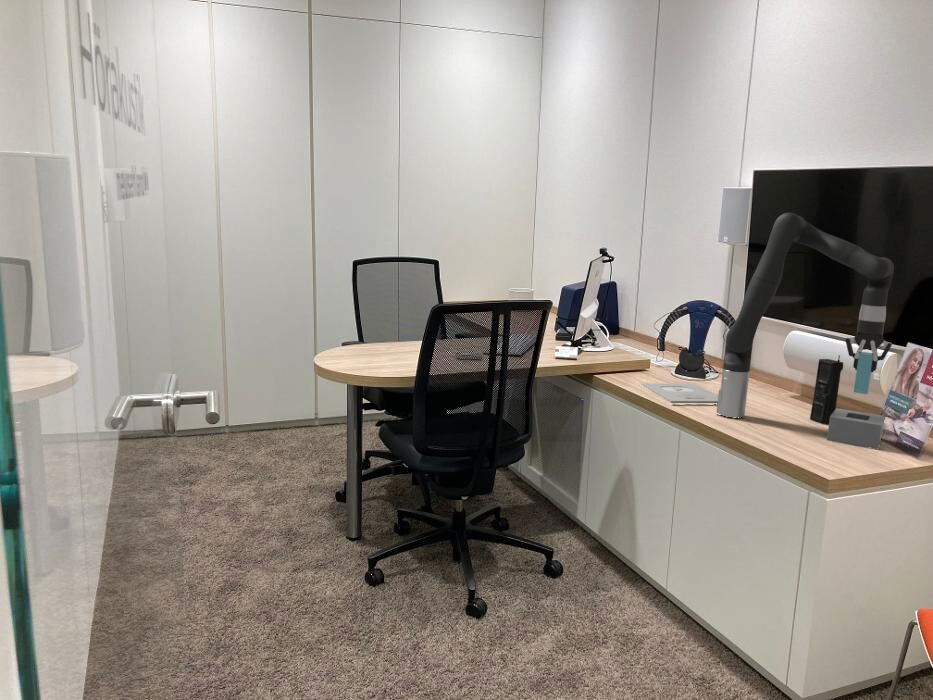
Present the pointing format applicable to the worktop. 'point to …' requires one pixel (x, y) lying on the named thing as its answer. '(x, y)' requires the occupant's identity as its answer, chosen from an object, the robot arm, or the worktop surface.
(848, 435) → the block
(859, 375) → the teal rectangular block
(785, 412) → the worktop surface
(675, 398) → the award plaque
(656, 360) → the worktop surface
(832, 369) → the portable radio
